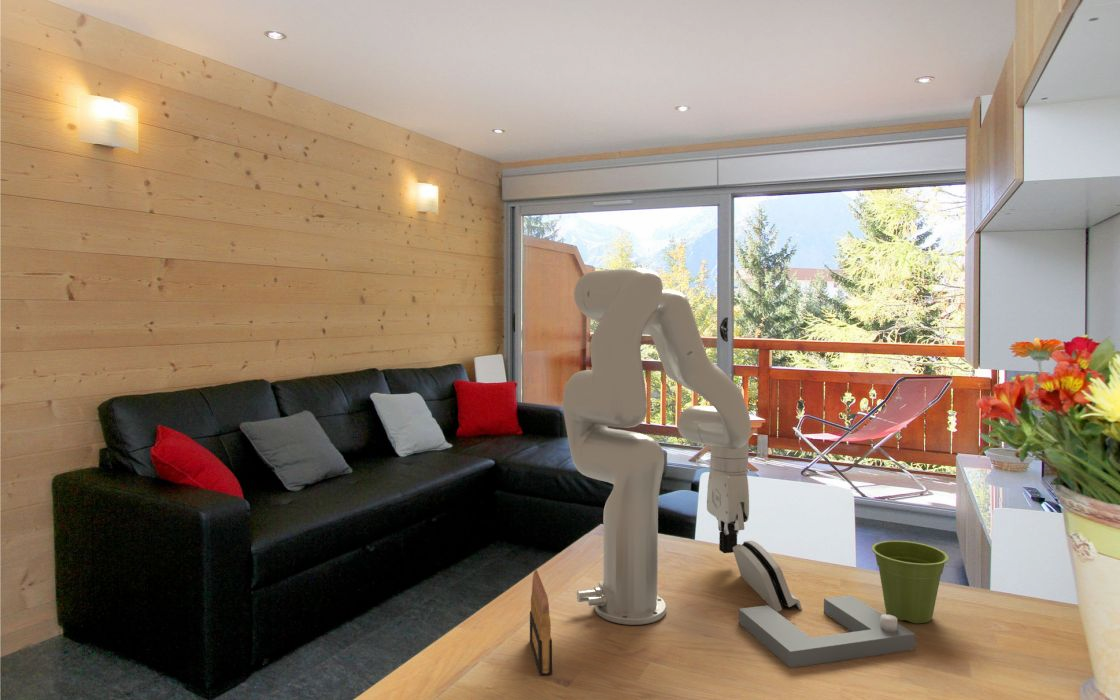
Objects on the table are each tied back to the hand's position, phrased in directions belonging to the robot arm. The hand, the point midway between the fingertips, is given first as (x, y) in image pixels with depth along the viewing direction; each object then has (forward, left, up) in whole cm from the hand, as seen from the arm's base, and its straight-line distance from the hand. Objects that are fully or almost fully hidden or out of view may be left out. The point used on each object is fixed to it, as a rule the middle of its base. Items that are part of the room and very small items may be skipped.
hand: (728, 551), depth 140 cm
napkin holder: (-46, -27, -3) cm, 53 cm away
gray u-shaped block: (0, -32, -3) cm, 32 cm away
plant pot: (+19, -29, -3) cm, 34 cm away
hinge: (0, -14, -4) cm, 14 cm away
